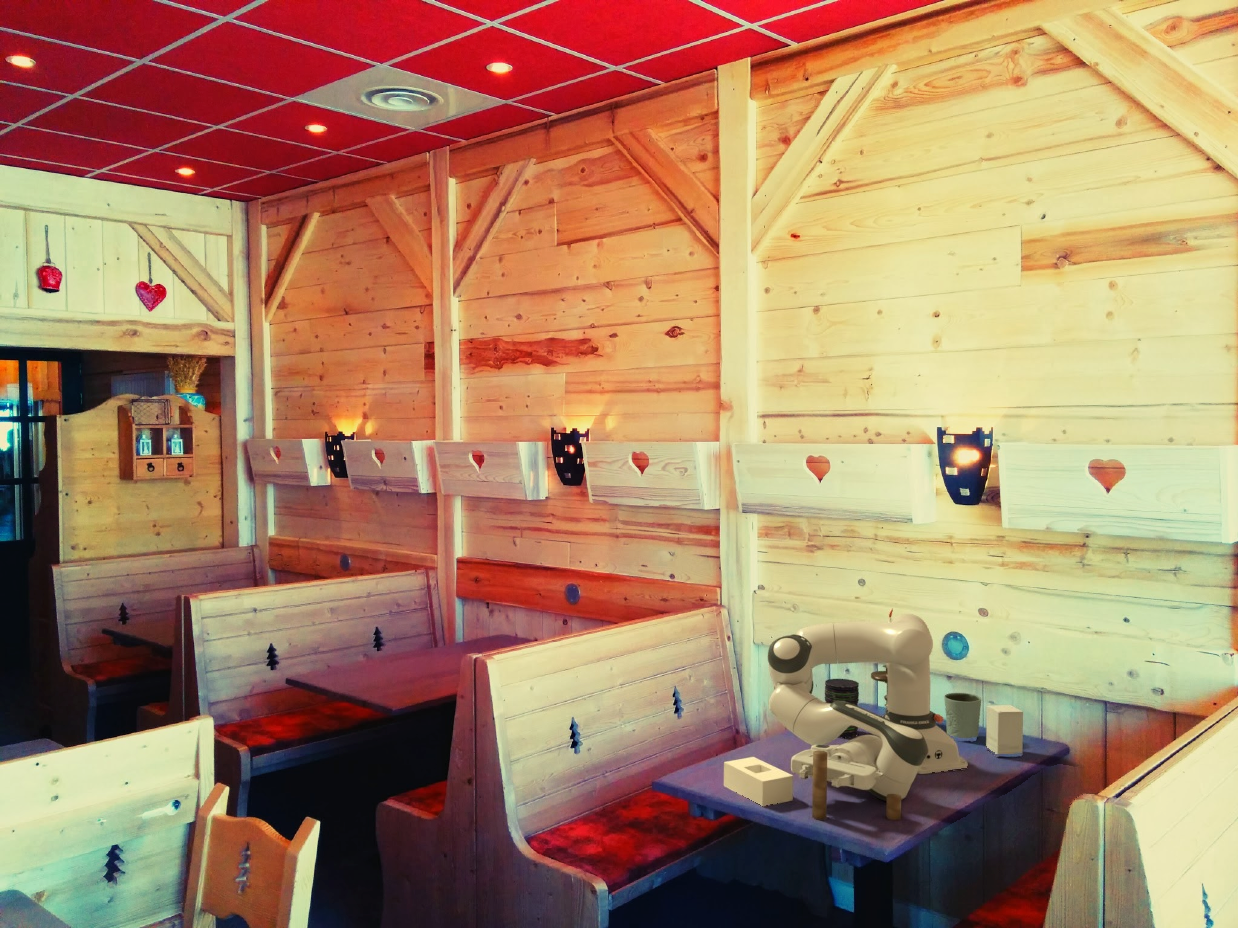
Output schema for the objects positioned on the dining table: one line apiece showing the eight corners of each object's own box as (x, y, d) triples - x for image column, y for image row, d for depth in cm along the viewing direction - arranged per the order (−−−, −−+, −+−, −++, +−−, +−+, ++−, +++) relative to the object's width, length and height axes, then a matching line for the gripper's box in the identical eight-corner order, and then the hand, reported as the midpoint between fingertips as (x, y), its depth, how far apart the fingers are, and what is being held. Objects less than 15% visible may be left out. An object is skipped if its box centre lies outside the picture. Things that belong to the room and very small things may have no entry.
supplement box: (1023, 757, 283) (1024, 711, 282) (996, 757, 282) (997, 711, 282) (1010, 749, 290) (1011, 704, 290) (985, 749, 290) (986, 704, 289)
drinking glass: (984, 736, 302) (985, 695, 301) (975, 745, 293) (975, 703, 293) (949, 730, 307) (950, 690, 307) (939, 739, 299) (939, 697, 299)
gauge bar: (753, 780, 263) (753, 756, 263) (792, 800, 249) (793, 775, 249) (723, 785, 258) (723, 761, 258) (762, 806, 244) (762, 781, 244)
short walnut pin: (897, 814, 240) (897, 793, 240) (903, 819, 237) (903, 798, 237) (884, 815, 240) (884, 793, 239) (889, 820, 236) (890, 798, 236)
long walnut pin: (823, 814, 240) (824, 750, 239) (828, 819, 237) (829, 754, 236) (810, 814, 239) (811, 750, 239) (814, 819, 236) (815, 754, 236)
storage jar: (821, 727, 309) (821, 678, 309) (854, 728, 309) (854, 678, 309) (827, 737, 299) (828, 686, 299) (861, 738, 299) (862, 686, 299)
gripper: (886, 786, 241) (859, 803, 231) (807, 768, 254) (779, 783, 243) (886, 760, 241) (860, 775, 230) (807, 742, 254) (779, 756, 243)
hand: (817, 779), depth 237 cm, fingers open, 7 cm apart
